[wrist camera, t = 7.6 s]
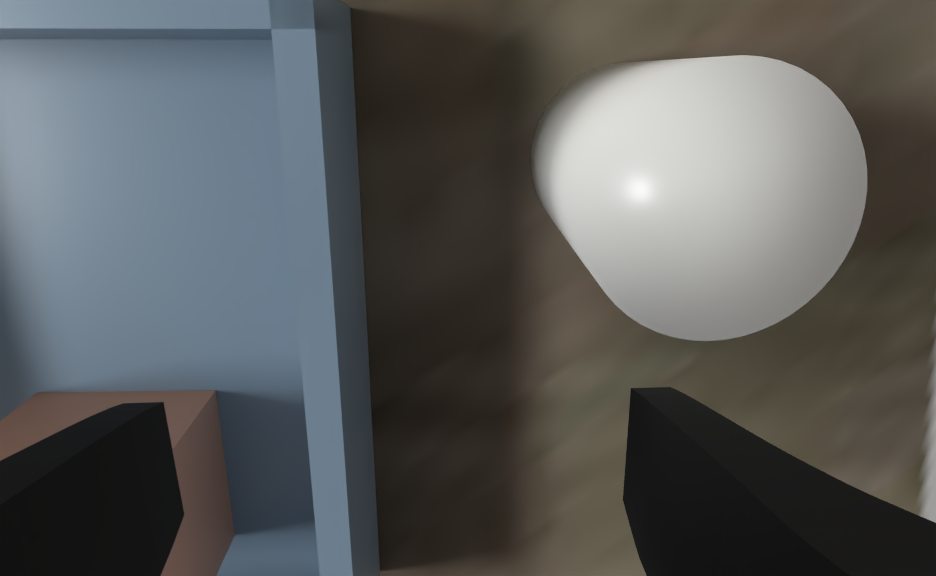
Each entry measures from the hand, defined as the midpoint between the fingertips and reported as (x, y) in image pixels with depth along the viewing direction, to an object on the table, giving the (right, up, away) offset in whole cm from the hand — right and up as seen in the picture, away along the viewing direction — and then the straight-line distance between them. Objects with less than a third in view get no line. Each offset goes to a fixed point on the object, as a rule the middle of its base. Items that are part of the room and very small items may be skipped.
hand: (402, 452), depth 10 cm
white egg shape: (+5, +6, +8) cm, 11 cm away
